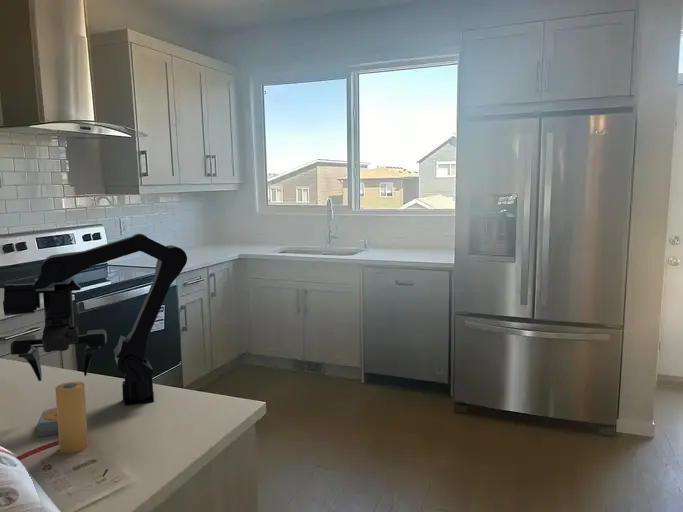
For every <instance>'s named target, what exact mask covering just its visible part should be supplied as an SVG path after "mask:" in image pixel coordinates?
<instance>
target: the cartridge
mask: <svg viewBox="0 0 683 512" xmlns="http://www.w3.org/2000/svg"><path fill="white" fill-rule="evenodd" d="M54 389H55V401H56V407H57V420H58V434H57V435H58V448H59V450H60V451H61V452H62V453H61V452H60V451H59V452H60V453H61V454H76V453H79V452H81V451H83V450H85V449H86V448H88V446H89V441H88V422H87V408H86V407H87V405H86V391H85V389H86V387H85V383H84V382H82V381H68V382H64V383H61V384H59V385H56V386H55V388H54Z"/></svg>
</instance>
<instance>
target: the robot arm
mask: <svg viewBox="0 0 683 512" xmlns="http://www.w3.org/2000/svg"><path fill="white" fill-rule="evenodd" d="M138 252H141V253H144V254H146V255H148V256H150V257H153V258H155V260H156V259H157V260H156V265H155V271H154V272H155V273H154V278H153V280H152V283H151V284H150V287H149V290H148V292H147V294H146V295H145V296H146V297H145V298H144V301H143V303H142V306H141V308H140V311H139V312H138V315H137V318H136V319H135V322H134V324H133V326H132V329H131V330H130V332H129V333H128V335H126V336H123V335H120V336H119V340H118V342H117V343H118V344H117V345H116V346H115V348H114V349H113V352H114V360H115V361H116V365H117V368H118V370H119V371H120V372H121V373H123V374H124V380H123V381H122V383H121V384H122V386H121V387H122V401H123V402H124V406H134V405H141V404H148V403H154V402H155V394H154V382H153V374H154V370H153V367H152V365H151V363H150V361H149V360H148V359H147V358H146V354H147V353H146V352H147V345H148V340H149V336H150V334H151V331H152V329H153V327H154V324H155V322H156V320H157V318H158V315H159V313H160V311H161V308H162V306H163V305H164V304H163V303H164V301H165V299H166V298H167V297H166V296H167V294H168V293H169V290H170V287H171V285H172V284H173V283H174V282H175V280H176V279H177V278H178V277H179V275H180V274H181V272H182V270H183V269H184V268H185V266H186V265H187V261H188V256H187V254H186V251H185V250H184V249H182V248H180V247H179V246H177V245H172V244H171V245H163V244H161V243H160V242H157V241H155V240H153V239H151V238H149V237H148V236H147V235H145V234H143V233H135V234H133V235H131V236H128V237H125V238H121V239H118V240H116V241H113V242H109V243H106V244H103V245H99V246H96V247H92V248H90V249H86V250H82V251H73V252H64V253H57V254H52V255H49V256H47V257H46V258H45V259H44V260H43V262H42V263H41V268H40V274H39V275H38V276H37V277H36V278H34V281H33V282H32V283H31V282H30V283H16V284H15V283H6V284H4V286H3V290H4V291H3V301H2V305H3V308H2V309H3V314H4V317H7V316H8V317H9V316H17V315H18V316H20V315H28V314H31V315H32V314H36V311H37V310H38V309H41V294H42V295H43V296H42V297H43V310H44V311H43V314H44V327H43V331H42V336H41V338H37V337H36V335H35V334H33V335H32V334H31V335H19V336H17V337H15V338H14V340H13V341H12V342H11V343H10V347H9V348H10V355H13V356H15V355H17V357H18V358H20V359H21V358H24V359H25V360H26V361H27V363H28V364H29V365H30V367H31V368H32V371H33V373H34V374H35V377H36V379H37V380H38V382H42V376H43V375H42V373H43V372H42V367H41V366H42V365H41V361H40V360H41V359H40V353H39V348H43V350H42V351H43V352H44V353H52V352H59V351H60V352H64V351H68V350H69V348H70V345H76V344H77V345H79V344H86V347H85V348H84V362H83V363H84V365H83V374H84V377H86V376H87V375H88V372H89V371H88V370H89V368H90V363H91V361H92V357H93V354H94V352H95V351H99V350H100V348H101V347H105V346H106V345H107V342H108V340H107V339H108V338H107V337H108V336H107V331H106V330H105V329H104V328H100V329H92V330H91V329H90V330H87V332H86V333H85V334H81V335H80V334H79V326H77V325H76V326H75V320H74V319H75V317H74V304H73V292H75V291H81V289H82V287H81V285H80V284H78V283H77V282H76V281H75V280H74V278H72V277H74V276H77V275H79V273H82V272H83V271H85V270H87V269H89V268H91V267H94V266H97V265H100V264H103V263H107V262H110V261H112V260H116V259H118V258H121V257H126V256H129V255H131V254H135V253H138ZM70 278H72V279H70ZM68 279H70V281H69V282H65V281H66V280H68ZM63 282H64V283H63ZM51 284H54V285H53V286H54V287H48V286H50V285H51Z"/></svg>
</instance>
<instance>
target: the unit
mask: <svg viewBox="0 0 683 512" xmlns="http://www.w3.org/2000/svg"><path fill="white" fill-rule="evenodd" d="M36 431H37V433H36V434H37V438H42V437H48V436H56V435H58V420H57V406H56V407H52V408H51V407H50V408H45V409H44V410H43V411H42V414H41V415H40V417H39V420H38V422H37V424H36Z"/></svg>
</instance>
